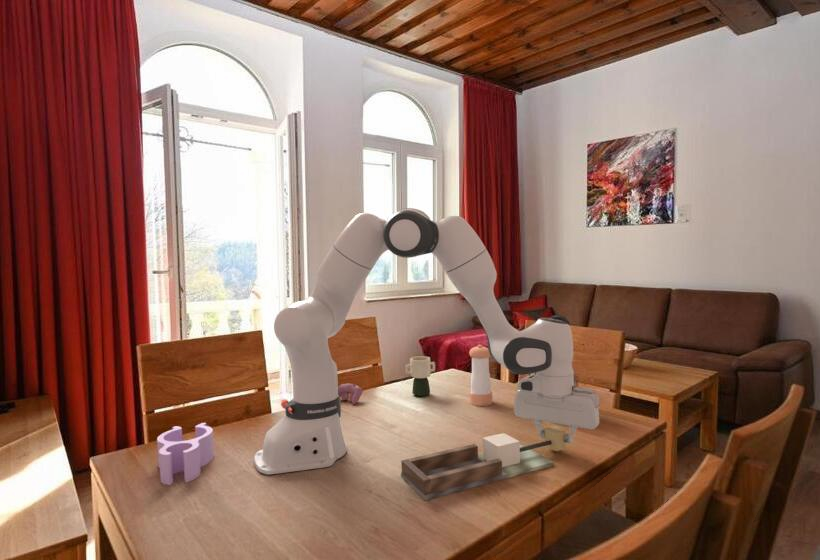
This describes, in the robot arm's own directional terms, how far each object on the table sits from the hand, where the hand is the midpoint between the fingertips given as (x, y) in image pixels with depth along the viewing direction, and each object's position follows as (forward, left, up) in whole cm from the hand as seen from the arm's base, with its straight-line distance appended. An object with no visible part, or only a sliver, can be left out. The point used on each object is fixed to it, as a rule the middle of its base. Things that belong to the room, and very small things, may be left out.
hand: (555, 439), depth 120 cm
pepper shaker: (+6, +42, -3) cm, 42 cm away
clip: (-82, +37, -3) cm, 90 cm away
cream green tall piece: (-7, +60, -3) cm, 60 cm away
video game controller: (-32, +66, -3) cm, 74 cm away
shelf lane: (-22, 0, -3) cm, 22 cm away
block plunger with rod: (-9, 0, -2) cm, 9 cm away
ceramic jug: (+20, +23, -3) cm, 30 cm away
